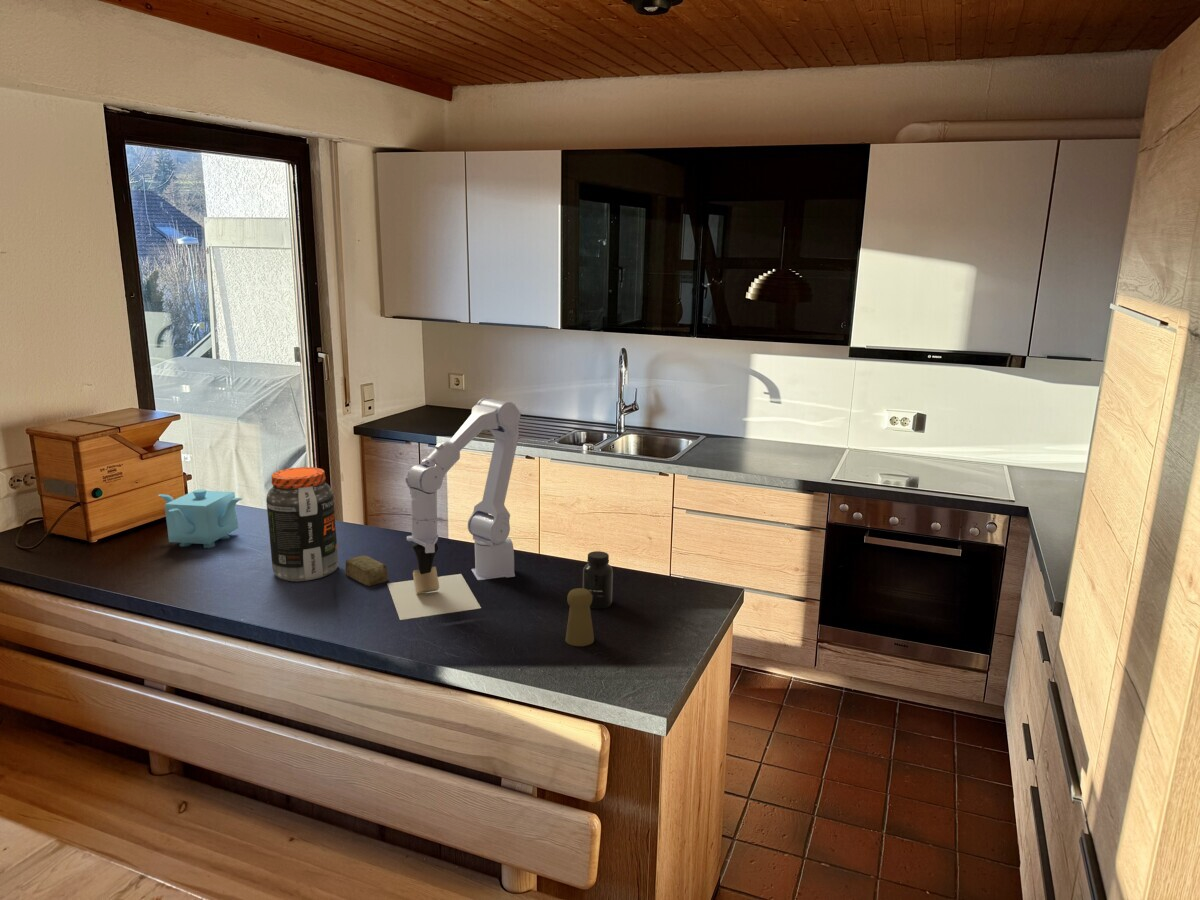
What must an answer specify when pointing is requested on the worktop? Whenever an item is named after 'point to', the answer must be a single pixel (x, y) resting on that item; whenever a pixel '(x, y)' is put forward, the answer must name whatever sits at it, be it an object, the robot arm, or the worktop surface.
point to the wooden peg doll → (579, 618)
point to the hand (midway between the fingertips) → (425, 574)
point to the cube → (426, 581)
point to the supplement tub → (302, 524)
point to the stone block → (366, 570)
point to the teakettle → (201, 517)
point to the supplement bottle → (598, 579)
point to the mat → (433, 598)
